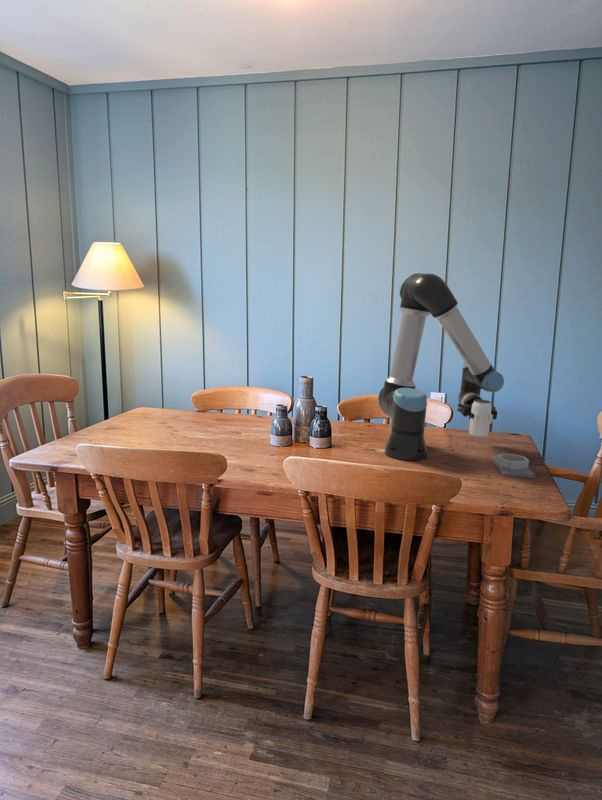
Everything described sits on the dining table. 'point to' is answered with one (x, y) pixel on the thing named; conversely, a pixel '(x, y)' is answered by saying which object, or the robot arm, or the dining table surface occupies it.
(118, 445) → the dining table surface
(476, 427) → the can
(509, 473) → the socket plate
